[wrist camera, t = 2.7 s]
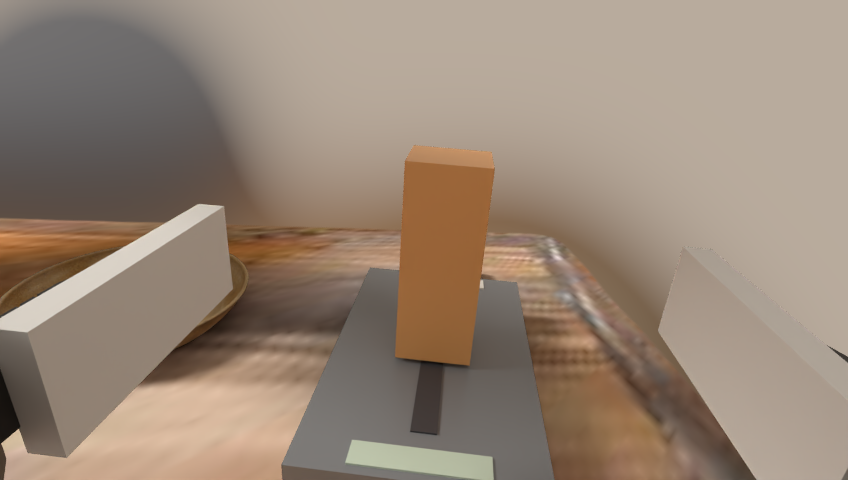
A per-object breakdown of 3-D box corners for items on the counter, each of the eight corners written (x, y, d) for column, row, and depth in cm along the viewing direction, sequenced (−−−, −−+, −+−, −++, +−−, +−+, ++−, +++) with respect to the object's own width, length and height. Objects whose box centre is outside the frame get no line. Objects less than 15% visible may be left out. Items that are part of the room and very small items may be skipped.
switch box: (545, 551, 19) (559, 498, 18) (285, 516, 20) (281, 463, 19) (505, 277, 42) (509, 245, 41) (383, 264, 43) (384, 233, 41)
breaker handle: (469, 365, 25) (494, 168, 21) (394, 357, 25) (404, 161, 21) (469, 328, 28) (491, 151, 24) (403, 321, 28) (413, 145, 24)
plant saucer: (281, 280, 39) (280, 252, 38) (180, 404, 26) (173, 366, 25) (114, 262, 40) (108, 234, 39) (-68, 373, 27) (-84, 335, 26)
